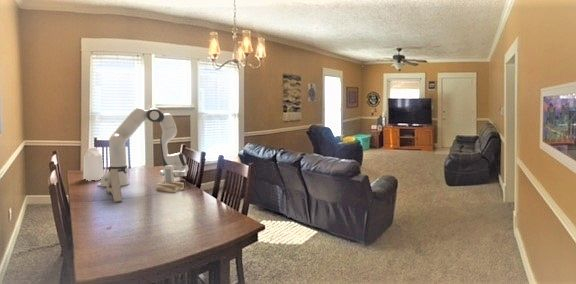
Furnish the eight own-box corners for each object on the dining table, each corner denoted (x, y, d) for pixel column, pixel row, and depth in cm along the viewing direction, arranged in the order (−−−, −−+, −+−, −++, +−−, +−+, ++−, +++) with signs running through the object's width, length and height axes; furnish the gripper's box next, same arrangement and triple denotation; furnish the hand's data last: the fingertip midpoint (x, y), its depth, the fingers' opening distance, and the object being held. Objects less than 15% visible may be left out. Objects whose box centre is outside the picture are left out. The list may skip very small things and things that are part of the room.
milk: (98, 177, 336) (97, 146, 333) (104, 179, 328) (102, 147, 325) (83, 179, 327) (81, 147, 324) (88, 181, 319) (87, 148, 316)
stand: (166, 187, 297) (166, 181, 296) (184, 188, 290) (184, 182, 290) (156, 190, 287) (156, 183, 286) (174, 192, 280) (174, 185, 280)
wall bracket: (117, 217, 275) (122, 200, 253) (110, 218, 273) (114, 201, 251) (113, 188, 285) (117, 169, 262) (106, 189, 282) (110, 169, 260)
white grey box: (167, 185, 304) (166, 165, 302) (174, 185, 303) (173, 165, 301) (164, 186, 300) (164, 166, 298) (171, 186, 299) (171, 166, 298)
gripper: (163, 167, 315) (155, 170, 301) (188, 167, 312) (181, 170, 298) (163, 175, 315) (155, 178, 302) (188, 175, 312) (181, 179, 299)
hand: (168, 174), depth 300 cm, fingers open, 8 cm apart
